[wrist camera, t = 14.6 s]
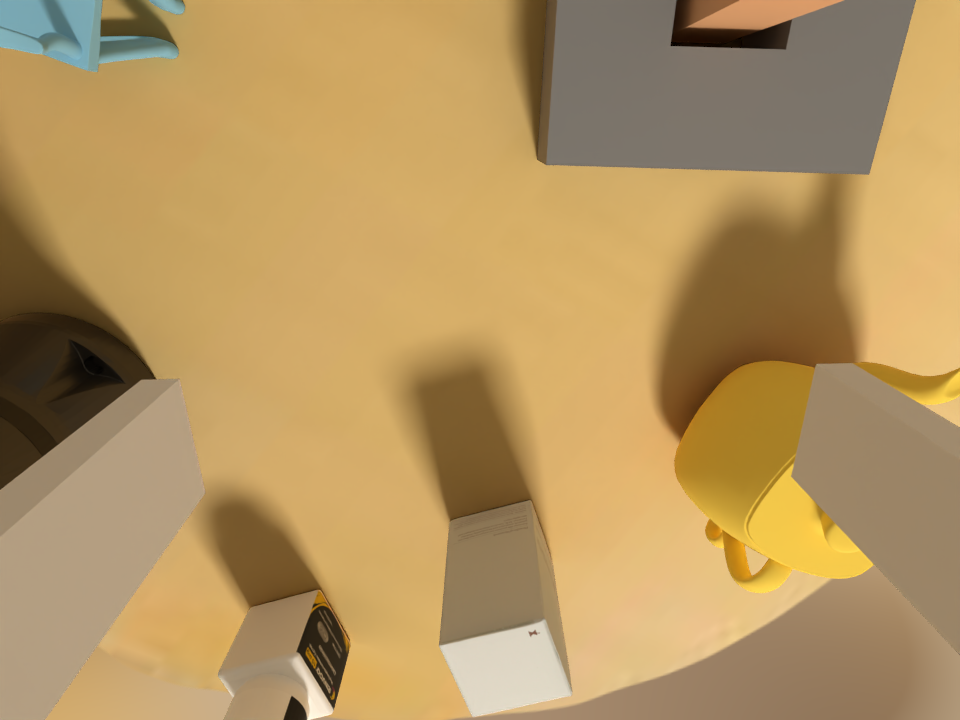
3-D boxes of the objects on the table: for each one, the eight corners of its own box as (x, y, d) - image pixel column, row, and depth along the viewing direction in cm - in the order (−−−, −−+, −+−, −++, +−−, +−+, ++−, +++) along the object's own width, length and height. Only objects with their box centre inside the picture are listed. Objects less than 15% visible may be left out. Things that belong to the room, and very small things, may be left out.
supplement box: (447, 518, 48) (435, 643, 37) (532, 497, 47) (548, 618, 36) (473, 584, 51) (469, 720, 39) (554, 565, 50) (576, 699, 38)
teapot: (624, 479, 47) (671, 598, 35) (773, 259, 40) (894, 313, 28) (763, 539, 49) (852, 670, 37) (927, 340, 42) (1100, 422, 30)
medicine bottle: (352, 643, 54) (317, 778, 42) (283, 660, 54) (231, 797, 43) (321, 586, 51) (275, 714, 40) (248, 605, 52) (184, 735, 41)
